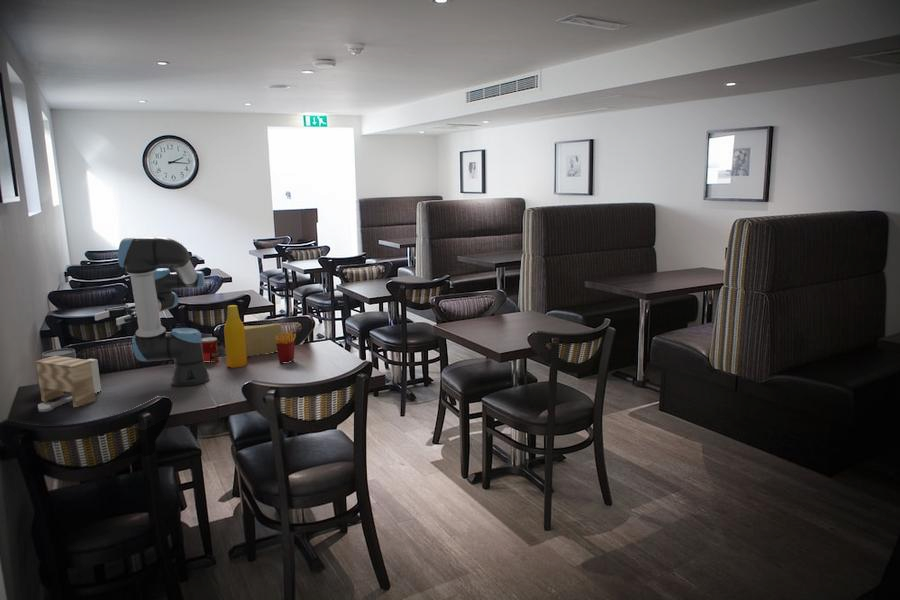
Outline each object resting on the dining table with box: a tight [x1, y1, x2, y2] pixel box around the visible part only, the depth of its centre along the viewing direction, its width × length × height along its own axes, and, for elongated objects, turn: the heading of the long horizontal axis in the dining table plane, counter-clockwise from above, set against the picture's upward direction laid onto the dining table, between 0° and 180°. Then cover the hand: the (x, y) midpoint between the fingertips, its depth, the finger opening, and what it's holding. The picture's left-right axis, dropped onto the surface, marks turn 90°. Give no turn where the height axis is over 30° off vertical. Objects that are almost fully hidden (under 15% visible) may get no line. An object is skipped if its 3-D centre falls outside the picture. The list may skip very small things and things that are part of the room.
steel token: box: [37, 401, 55, 413], centre depth 234 cm, size 5×5×2 cm
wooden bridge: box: [34, 356, 96, 408], centre depth 241 cm, size 21×9×17 cm, turn 68°
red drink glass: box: [201, 336, 220, 362], centre depth 297 cm, size 8×8×11 cm
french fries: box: [275, 330, 297, 363], centre depth 294 cm, size 9×8×15 cm
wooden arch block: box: [52, 358, 102, 409], centre depth 244 cm, size 20×4×14 cm, turn 158°
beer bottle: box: [223, 304, 248, 369], centre depth 287 cm, size 9×9×29 cm
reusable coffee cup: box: [41, 348, 77, 360], centre depth 261 cm, size 13×13×15 cm
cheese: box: [244, 323, 284, 358], centre depth 308 cm, size 22×10×15 cm, turn 111°
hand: (106, 319), depth 257 cm, fingers open, 12 cm apart
